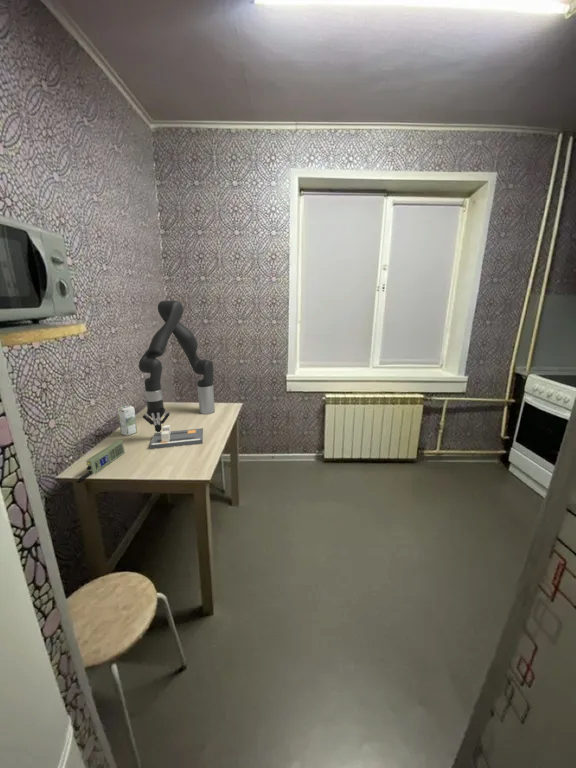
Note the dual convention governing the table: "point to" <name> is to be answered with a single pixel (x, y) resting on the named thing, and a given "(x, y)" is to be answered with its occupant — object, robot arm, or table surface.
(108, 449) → the handheld radio
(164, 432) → the outer switch
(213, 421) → the table surface
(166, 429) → the inner switch
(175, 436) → the switch panel
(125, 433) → the syrup box
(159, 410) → the robot arm
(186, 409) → the table surface
